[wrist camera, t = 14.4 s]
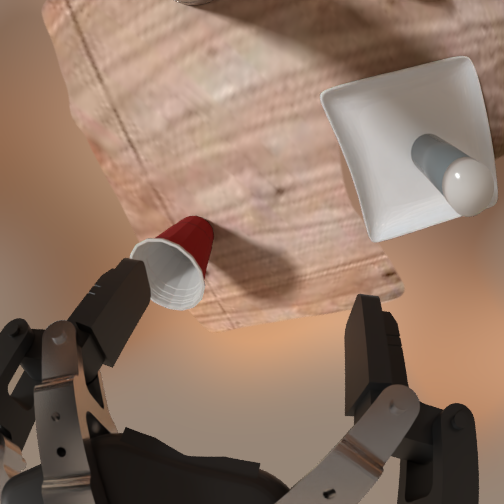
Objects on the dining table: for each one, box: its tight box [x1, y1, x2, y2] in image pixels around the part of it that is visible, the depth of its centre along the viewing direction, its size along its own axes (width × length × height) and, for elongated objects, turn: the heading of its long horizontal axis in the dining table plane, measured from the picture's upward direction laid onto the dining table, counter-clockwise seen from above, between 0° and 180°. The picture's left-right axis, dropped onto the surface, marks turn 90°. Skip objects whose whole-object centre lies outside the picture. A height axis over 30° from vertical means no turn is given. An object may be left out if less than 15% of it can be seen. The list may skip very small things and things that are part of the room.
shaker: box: [411, 134, 494, 217], centre depth 24 cm, size 5×5×12 cm
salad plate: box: [320, 56, 498, 242], centre depth 30 cm, size 21×21×3 cm
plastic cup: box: [130, 216, 214, 310], centre depth 40 cm, size 11×11×12 cm
